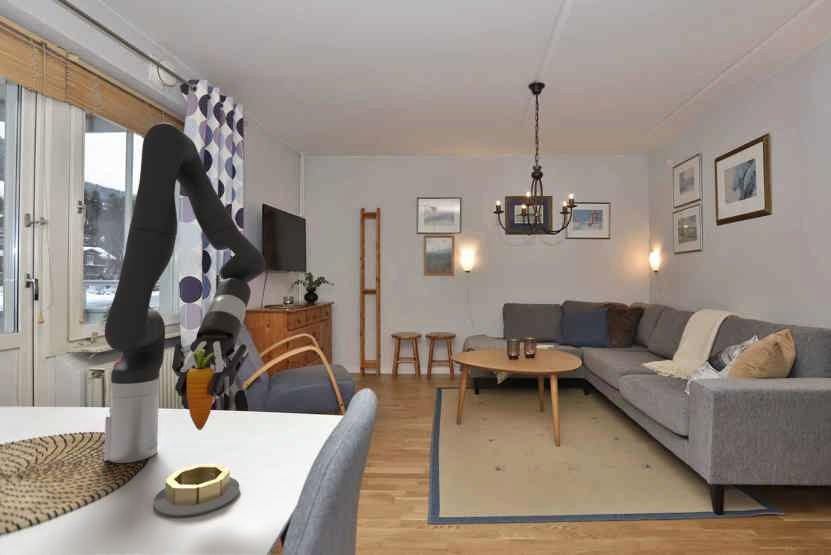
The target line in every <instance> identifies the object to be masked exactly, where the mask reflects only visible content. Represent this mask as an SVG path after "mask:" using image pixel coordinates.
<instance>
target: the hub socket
mask: <svg viewBox="0 0 831 555" xmlns="http://www.w3.org/2000/svg"><path fill="white" fill-rule="evenodd" d="M230 475H231V474H230V468H229V469H228V468H227V467H225V466H224V465H223V464H219V463H218V464H215V463H214V464H213V463H211V464H207V463H205V464H202V463H201V464H199V465H198V464H195V465H193V466H189V467H186V468H182V469H178V470H177V471H175V472H173V473H172V474H171V475H170V476H169V477H167V478H166V479H165V484H164V485H165V486H164V488H163V489H161V490H160V491H159V492H158V493H156V495H155V496H154V498H153V511H154V512H155V513H156V514H157V515H159V516H162V517H166V518H173V519H175V518H176V519H177V518H178V519H181V518H183V519H184V518H192V517H193V518H194V517H198V516H202V515H207V514H210V513H213V512H215V511H218V510H220V509H223V508H224V507H226V506H228V505H229V504H231V503H232V502H234V501H235V500H236V499H237V497H238V496H239V494H240V484H239V482H238V480H237V479H235V478H233V477H230Z"/></svg>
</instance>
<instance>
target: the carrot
mask: <svg viewBox="0 0 831 555" xmlns="http://www.w3.org/2000/svg"><path fill="white" fill-rule="evenodd" d="M192 353H193V352H192ZM204 353H205V350H204V349H201V350H199V351H198V355H197V352H195V353H193V356H194V360H195V362H196V364H197V368H194V369H191V370H189V371H188V373H187V391H186V398H187V404H188V405H187V406H188V411H189V415H190V418H191V420H192V423H193V425H194V426H195V428H196V429H197V430H198V431H201V430H203V428H204V427H205V425H206V423H207V421H208V419H209V417H210V414H211V410H212V407H213V406H212V405H213V400H214V396H211V395H210V394H209V387H210V384H211V381H212V378H213V375H214V373H215V372H214V369H213V368H211V367H206V366H207V365H206V363H207V361H208V360H209V359H210V358H211V357H212V356H214V355H215V354H214V353H211V354H209V355H208V356H207V357H206V358H203V356H204ZM202 359H203V361H202Z"/></svg>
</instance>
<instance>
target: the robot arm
mask: <svg viewBox="0 0 831 555" xmlns="http://www.w3.org/2000/svg"><path fill="white" fill-rule="evenodd" d="M140 160H141V161H140V173H139V179H138V180H139V182H138V187H137V192H136V196H135V202H134V205H133V212H132V216H131V220H130V224H129V229H128V232H127V238H126V244H125V251H124V255H123V256H124V257H123V260H122V264H121V268H120V274H119V278H118V284H117V287H116V291H115V294H114V297H113V299H112V303H111V305H110V308H109V311H108V315H107V318H106V322H105V326H104V338H105V341H106V342H107V345H109V347H110V348H111V349H112V350H114V351H116V352H120V353H122V355H121V358H120V359H121V360H120V361H119V363H118V364H117V365H116V366H115V367H114V366H113V368H112V370H111V373H110V381H111V382H110V406H109V411H110V412H109V415H107V416H106V417H105V420H104V422H105V423H104V424H105V425H104V453H103V454H104V456H103V457H104V460H103V461H109V462H111V463H115V464H124V463H125V464H126V463H134V462H138V461H144V460H145V459H146V460H147V459H149V458H151V457H153V456H155V455H156V454H157V453H158V439H159V438H158V437H159V435H158V432H159V401H160V400H159V398H160V397H159V395H160V391H159V390H160V388H159V387H160V370H161V368H162V365H163V363H164V357H165V355H164V354H165V343H166V326H165V325H166V324H165V321H164V319H163V317H162V315H161V313H159V312H158V311H156V310H154V309H151V308H150V305H151V304H150V303H151V299H152V295H153V291H154V289H155V287H156V284H157V283H158V282H159V280H160V278H161V276H162V275H163V273H164V272H165V270H166V269H167V267H168V265H169V263H170V261H171V259H172V257H173V254H174V250H175V244H176V240H177V233H178V215H177V207H176V199H175V198H176V196H175V195H176V194H175V191H176V183H177V182H178V183H179V184H180V185H181V187H182V189H183V190H184V192H185V194H186V196H187V198H188V201H189V204H190V206H191V209H192V211H193V212H192V213H193V214H194V217H195V219H196V221H197V223H198V225H199V227H200V229H201V230H202V232H203V234H204V235H205V236H206V238H207V240H208V242H209V244H210V246H211V247H212V248H213V249H214V250H216V251H223V250H226V249H227V250H228V249H229V251H231V252H232V253H233V256H231V257H230V258H228V259H227V260H226V261H224V262H223V263H222V265H221V267H220V268H219V271H218V274H217V275H218V277H217V278H218V279H217V289H216V291H215V292H214V296H213V298H212V300H211V301H210V304H208V306H207V309H206V311H205V314H204V316H203V319H202V320H201V323H200V326H199V328H198V330H197V333H196V337H195V340H193V341H192V342H191V344H189V345H182V344H181V343H177V344H175V346H174V352H173V357H172V363H171V365H172V366H171V369H172V370H173V373H174V374H175V375H176V377H178V379H177V380H176V384H175V387H174V390H175V391H176V393H177V395H178V396H179V397H185V396H186V395H187V373H188V371H189V370H191V369H194V368H197V364H196V362H195V360H194V356H193V353H195V352H197V355H198V351H199V350H201V349H204V350H205V353H204V356H203V358H206V357H207V356H208V355H209V354H211V353H214V354H215V355H214V356H212V357H211V358H210V359H209V360H208V361H207V363H206V365H205V366H207V365H213V366H215V370H216V372H214V375H213V378H212V381H211V384H210V387H209V394H210V395H211V396H213V397H216V396H217V394H219V393H220V392H221V390H222V387H223V384H224V382H225V379H226V378H227V377H236V376H237V375H238V373H239V371H240V370H241V368H242V366H243V364H244V363H245V361H246V359H247V358H248V356H249V354H250V353H249V350H248V347H247V345H246V344H240V345H237V341H238V339H239V335H240V332H241V330H242V326H243V325H244V320H245V318H246V317H245V316H246V311H247V307H248V304H249V301H250V298H251V293H252V290H251V287H250V285H249V283H250V282H251V281H253V280H254V279H256V278H258V277H259V276H261V275H262V274H263V273H264V272H265V270H266V260H265V257H264V255H263V254H262V253H261V251H260V250H259V249H258V247H256V246H255V245H254V244H253V243H252V242H251V241H250V240H249V239H248V238H247V237H246V236H245V235H244V234H243V233H242V232H241V231H240V229H239V228H238V226H237V224H236V222H235V221H234V220H233V217H232V216H231V214H230V212H229V211H228V209H227V208H226V207H225V204H224V203H223V201H222V200H221V198H220V197H219V195H218V193H217V191H216V190H215V187H214V186H213V184H212V182H211V181H210V179H209V176H208V174H207V171H206V170H205V167H204V163H203V162H202V159H201V156H200V154H199V151H198V148H197V146H196V144H195V142H194V141H193V139H192V138H190V137H189V136H188V135H187V134H186V133H184V131H183V130H181V129H180V128H178V127H177V126H175V125H174V124H172V123H169V122H158V123H157V124H154V125H152V126H151V127H150V128H148V130H147V131H146V133H145V134H144V138H143V141H142V148H141V159H140ZM191 352H192V353H191ZM190 353H191V354H190ZM189 354H190V355H189ZM233 354H234V355H233ZM231 355H233V357H232V358H231V360H230V361H229V363H228V364H226V363H227V362H226V359H228V358H229V357H230V356H231ZM188 356H189V357H188ZM186 359H187V361H186ZM202 361H203V359H202ZM185 362H186V363H185Z"/></svg>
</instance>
